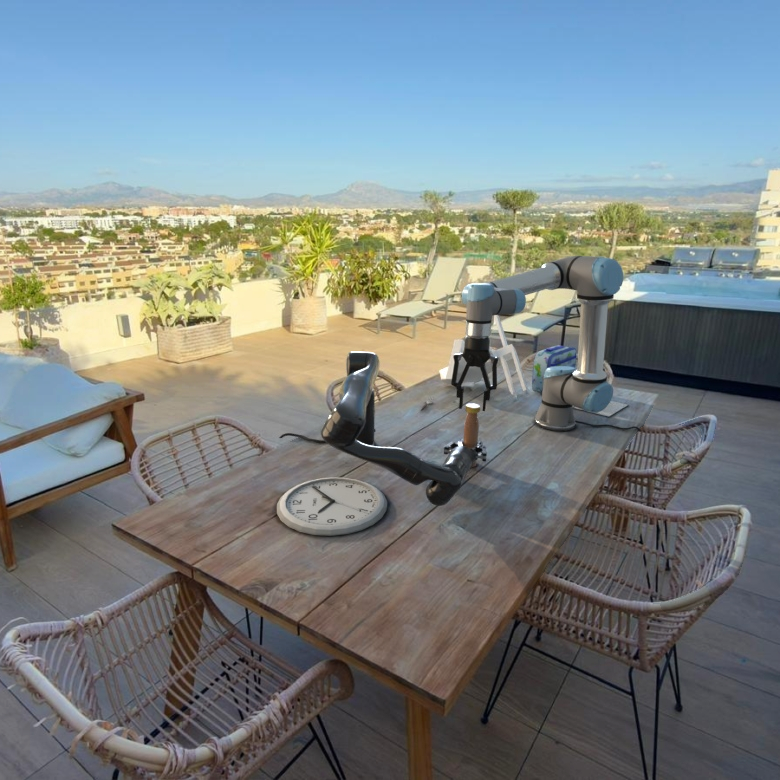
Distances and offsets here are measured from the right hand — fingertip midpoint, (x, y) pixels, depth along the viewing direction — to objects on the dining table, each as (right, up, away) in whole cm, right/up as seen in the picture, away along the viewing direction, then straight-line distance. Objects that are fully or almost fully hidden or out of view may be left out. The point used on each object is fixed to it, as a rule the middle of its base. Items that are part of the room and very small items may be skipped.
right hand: (472, 408), depth 163 cm
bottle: (0, -18, +6) cm, 19 cm away
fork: (-10, -1, +60) cm, 61 cm away
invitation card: (+66, -1, +63) cm, 91 cm away
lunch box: (+51, +6, +85) cm, 99 cm away
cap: (0, +1, 0) cm, 1 cm away
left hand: (+1, -11, +6) cm, 13 cm away
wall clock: (-41, -26, -20) cm, 53 cm away
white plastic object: (+16, +5, +80) cm, 82 cm away
